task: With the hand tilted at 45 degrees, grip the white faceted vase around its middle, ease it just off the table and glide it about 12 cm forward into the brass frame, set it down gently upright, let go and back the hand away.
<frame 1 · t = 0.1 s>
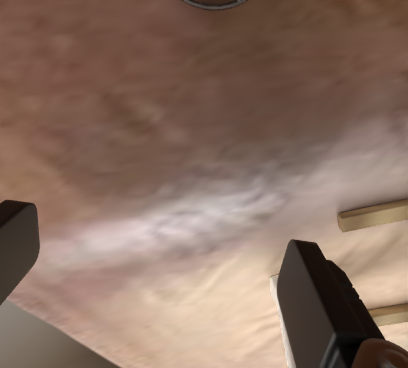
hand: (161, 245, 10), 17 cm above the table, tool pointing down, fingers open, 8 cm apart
white faceted vase: (286, 282, 32), on the table
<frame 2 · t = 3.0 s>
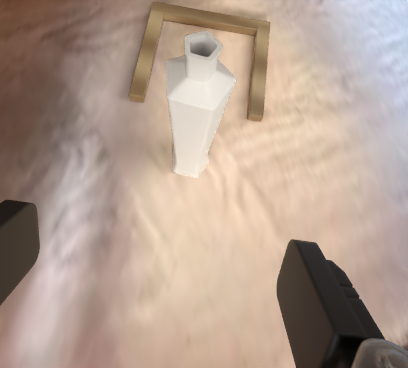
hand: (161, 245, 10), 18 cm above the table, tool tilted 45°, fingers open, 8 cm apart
brass frame: (203, 64, 35), on the table
white faceted vase: (187, 160, 31), on the table
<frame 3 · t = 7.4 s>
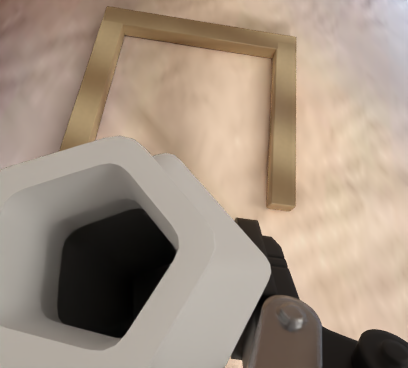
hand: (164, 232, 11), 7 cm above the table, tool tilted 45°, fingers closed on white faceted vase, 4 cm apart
brass frame: (189, 109, 21), on the table
white faceted vase: (160, 296, 17), on the table, touching gripper
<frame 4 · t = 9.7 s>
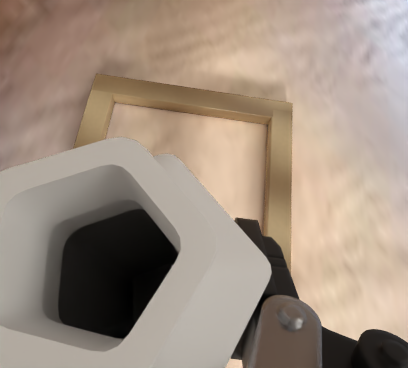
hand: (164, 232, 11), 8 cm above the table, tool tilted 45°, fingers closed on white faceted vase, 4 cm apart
brass frame: (181, 184, 20), on the table
white faceted vase: (160, 296, 17), point 1 cm above the table, touching gripper
when the fingers open (7 cm above the table, at t = 12.3 s): white faceted vase stays where it is, on the table.
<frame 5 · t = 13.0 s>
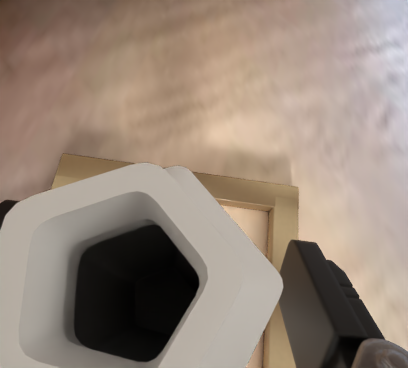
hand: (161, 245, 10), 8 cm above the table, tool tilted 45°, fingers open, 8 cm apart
brass frame: (163, 296, 17), on the table
white faceted vase: (162, 299, 17), on the table
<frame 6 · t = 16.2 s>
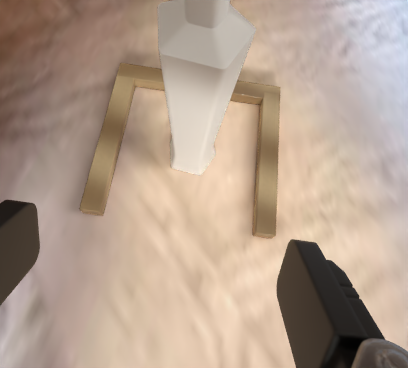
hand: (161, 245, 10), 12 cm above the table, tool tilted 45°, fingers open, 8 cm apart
brass frame: (189, 151, 25), on the table
white faceted vase: (189, 153, 25), on the table
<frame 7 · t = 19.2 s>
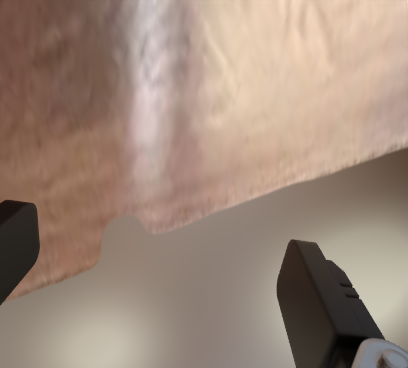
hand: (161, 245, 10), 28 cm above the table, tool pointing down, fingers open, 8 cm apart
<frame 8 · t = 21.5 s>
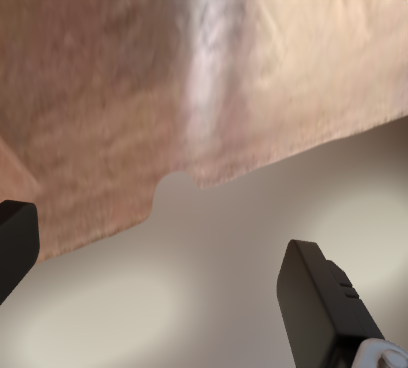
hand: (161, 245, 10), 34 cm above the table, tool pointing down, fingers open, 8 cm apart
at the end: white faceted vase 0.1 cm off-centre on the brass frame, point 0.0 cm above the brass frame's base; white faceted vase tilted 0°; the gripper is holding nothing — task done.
